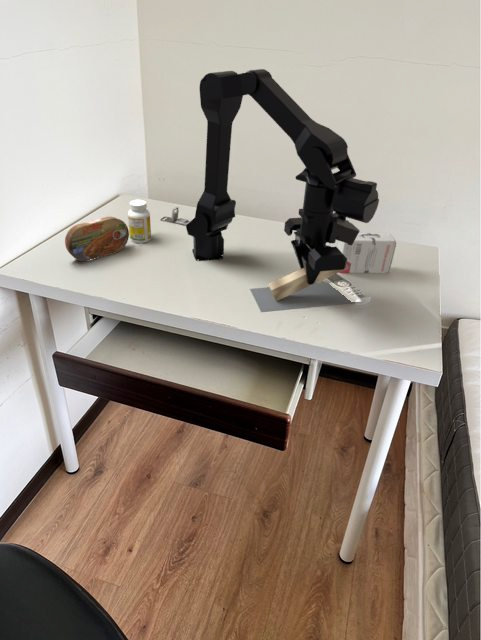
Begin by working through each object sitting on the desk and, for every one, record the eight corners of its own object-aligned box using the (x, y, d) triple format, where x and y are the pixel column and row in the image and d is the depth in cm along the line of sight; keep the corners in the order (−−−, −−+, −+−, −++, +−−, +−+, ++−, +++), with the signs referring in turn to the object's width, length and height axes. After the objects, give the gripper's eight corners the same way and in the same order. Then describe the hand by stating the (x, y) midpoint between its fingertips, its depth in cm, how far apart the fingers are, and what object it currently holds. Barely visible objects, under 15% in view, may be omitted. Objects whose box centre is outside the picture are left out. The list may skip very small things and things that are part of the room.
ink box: (333, 264, 111) (382, 265, 111) (338, 274, 107) (389, 276, 107) (339, 230, 106) (391, 232, 107) (344, 240, 102) (398, 241, 102)
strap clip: (191, 223, 128) (191, 208, 126) (186, 227, 126) (186, 212, 123) (164, 217, 131) (164, 203, 128) (159, 221, 128) (158, 206, 126)
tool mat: (260, 314, 92) (261, 312, 92) (249, 291, 99) (249, 288, 99) (362, 304, 97) (363, 301, 96) (344, 282, 104) (345, 280, 103)
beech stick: (276, 301, 95) (271, 290, 93) (272, 295, 97) (268, 284, 95) (347, 268, 94) (344, 256, 93) (342, 262, 96) (339, 250, 95)
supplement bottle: (137, 245, 115) (134, 208, 109) (125, 238, 118) (122, 201, 113) (155, 239, 118) (153, 203, 113) (143, 232, 121) (141, 197, 116)
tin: (72, 265, 105) (66, 231, 100) (66, 260, 107) (60, 226, 102) (131, 248, 114) (128, 215, 109) (124, 243, 115) (121, 211, 111)
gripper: (381, 225, 81) (364, 300, 90) (338, 189, 96) (327, 257, 105) (321, 228, 79) (310, 306, 87) (287, 191, 93) (280, 260, 102)
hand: (308, 280), depth 95 cm, fingers closed on beech stick, 2 cm apart
